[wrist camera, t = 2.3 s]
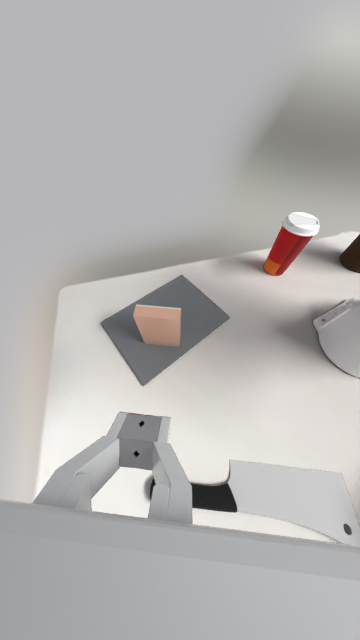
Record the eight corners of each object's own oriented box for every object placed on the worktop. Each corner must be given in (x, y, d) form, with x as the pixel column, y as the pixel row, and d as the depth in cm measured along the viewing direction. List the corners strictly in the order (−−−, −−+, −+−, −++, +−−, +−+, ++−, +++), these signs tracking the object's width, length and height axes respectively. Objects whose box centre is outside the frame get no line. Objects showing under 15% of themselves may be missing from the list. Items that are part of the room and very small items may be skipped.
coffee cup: (286, 262, 55) (320, 213, 42) (287, 281, 51) (325, 232, 38) (259, 257, 56) (284, 208, 43) (258, 275, 52) (285, 226, 39)
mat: (181, 275, 51) (181, 274, 51) (229, 318, 44) (229, 316, 43) (101, 323, 43) (100, 322, 42) (143, 386, 35) (143, 385, 35)
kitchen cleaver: (340, 458, 29) (375, 554, 23) (333, 458, 30) (363, 548, 24) (158, 434, 31) (145, 517, 24) (159, 434, 32) (147, 513, 26)
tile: (179, 346, 39) (179, 319, 29) (144, 343, 39) (132, 315, 29) (180, 337, 40) (181, 308, 30) (146, 334, 41) (136, 304, 30)
